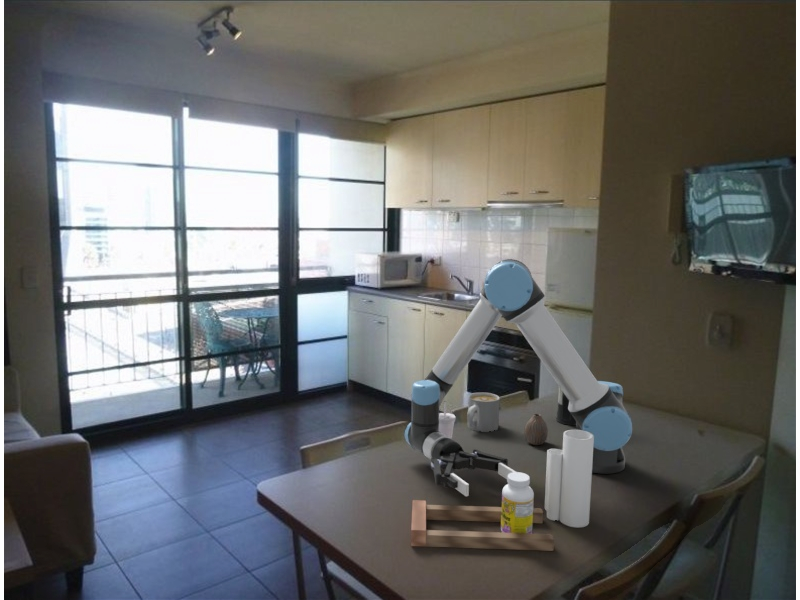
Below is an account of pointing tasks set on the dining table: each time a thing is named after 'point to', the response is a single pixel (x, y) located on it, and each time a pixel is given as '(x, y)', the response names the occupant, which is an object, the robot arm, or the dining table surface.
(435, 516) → the channel
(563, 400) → the milk frother
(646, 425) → the dining table surface
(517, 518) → the supplement bottle
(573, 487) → the white joined tall cylinders
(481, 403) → the coffee mug
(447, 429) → the smoothie
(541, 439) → the vase
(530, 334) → the robot arm
